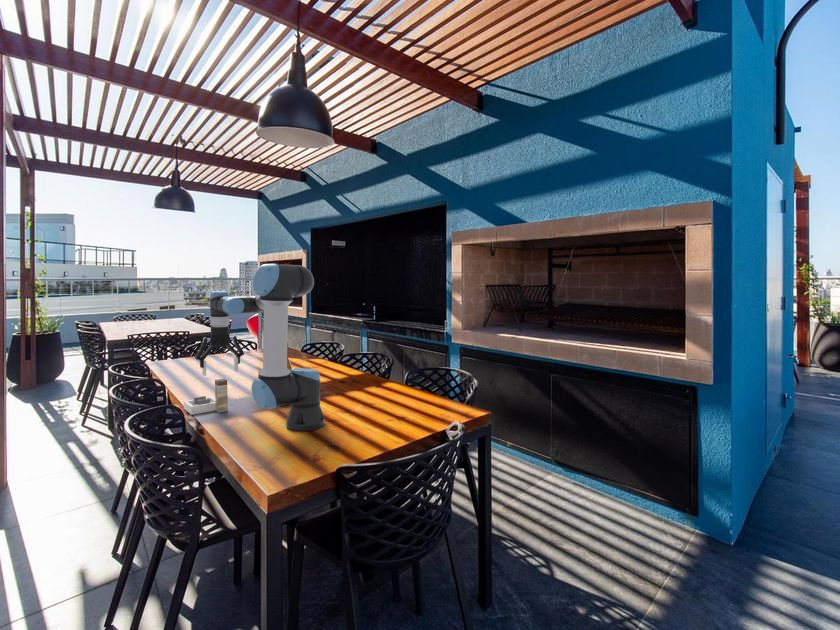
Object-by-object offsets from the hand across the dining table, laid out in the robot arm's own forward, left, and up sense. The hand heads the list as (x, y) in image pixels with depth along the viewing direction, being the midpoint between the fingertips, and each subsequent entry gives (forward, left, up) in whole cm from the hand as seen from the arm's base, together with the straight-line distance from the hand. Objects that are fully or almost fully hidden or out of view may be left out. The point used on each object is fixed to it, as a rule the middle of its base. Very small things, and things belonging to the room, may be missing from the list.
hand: (220, 373), depth 191 cm
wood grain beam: (0, 0, -17) cm, 17 cm away
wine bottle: (-7, -27, -17) cm, 33 cm away
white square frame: (+8, +6, -17) cm, 20 cm away
